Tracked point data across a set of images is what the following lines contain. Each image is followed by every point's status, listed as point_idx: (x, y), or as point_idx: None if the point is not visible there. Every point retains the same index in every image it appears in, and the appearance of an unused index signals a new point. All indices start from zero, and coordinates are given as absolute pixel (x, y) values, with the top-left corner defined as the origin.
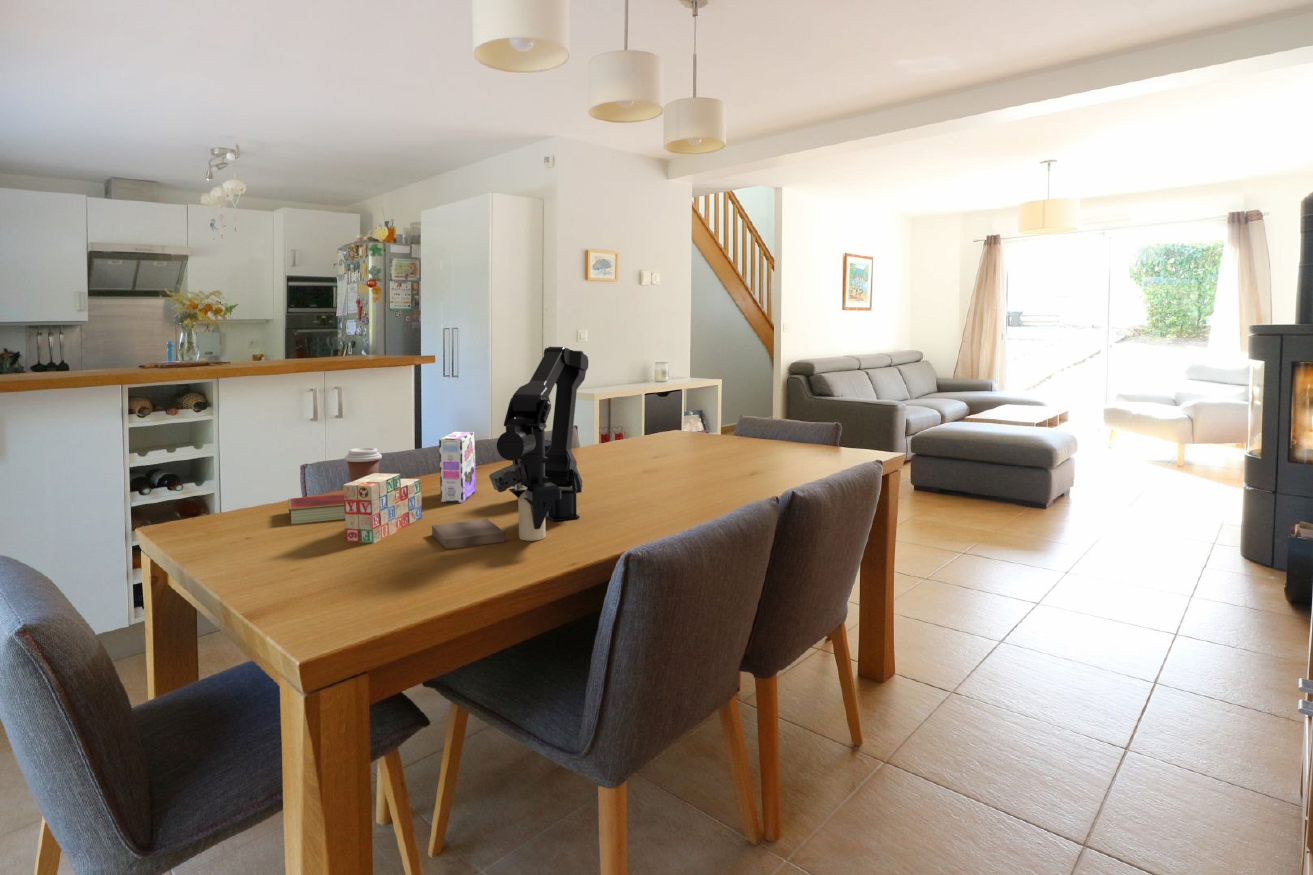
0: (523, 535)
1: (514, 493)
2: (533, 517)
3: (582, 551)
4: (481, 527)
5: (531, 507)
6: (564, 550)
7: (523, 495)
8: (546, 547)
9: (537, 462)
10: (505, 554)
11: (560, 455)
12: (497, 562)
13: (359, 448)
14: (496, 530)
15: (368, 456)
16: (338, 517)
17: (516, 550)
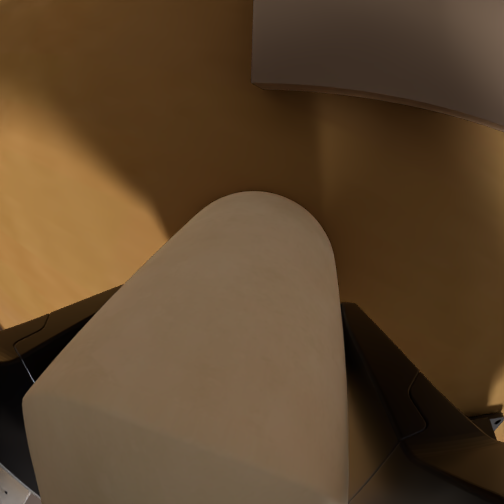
0: (211, 205)
1: (470, 498)
2: (73, 307)
3: (32, 312)
4: (461, 8)
5: (12, 347)
6: (42, 278)
7: (88, 494)
8: (79, 243)
9: None
10: (55, 51)
11: None
12: (9, 24)
13: None
14: (329, 45)
15: None
16: None
17: (79, 106)
